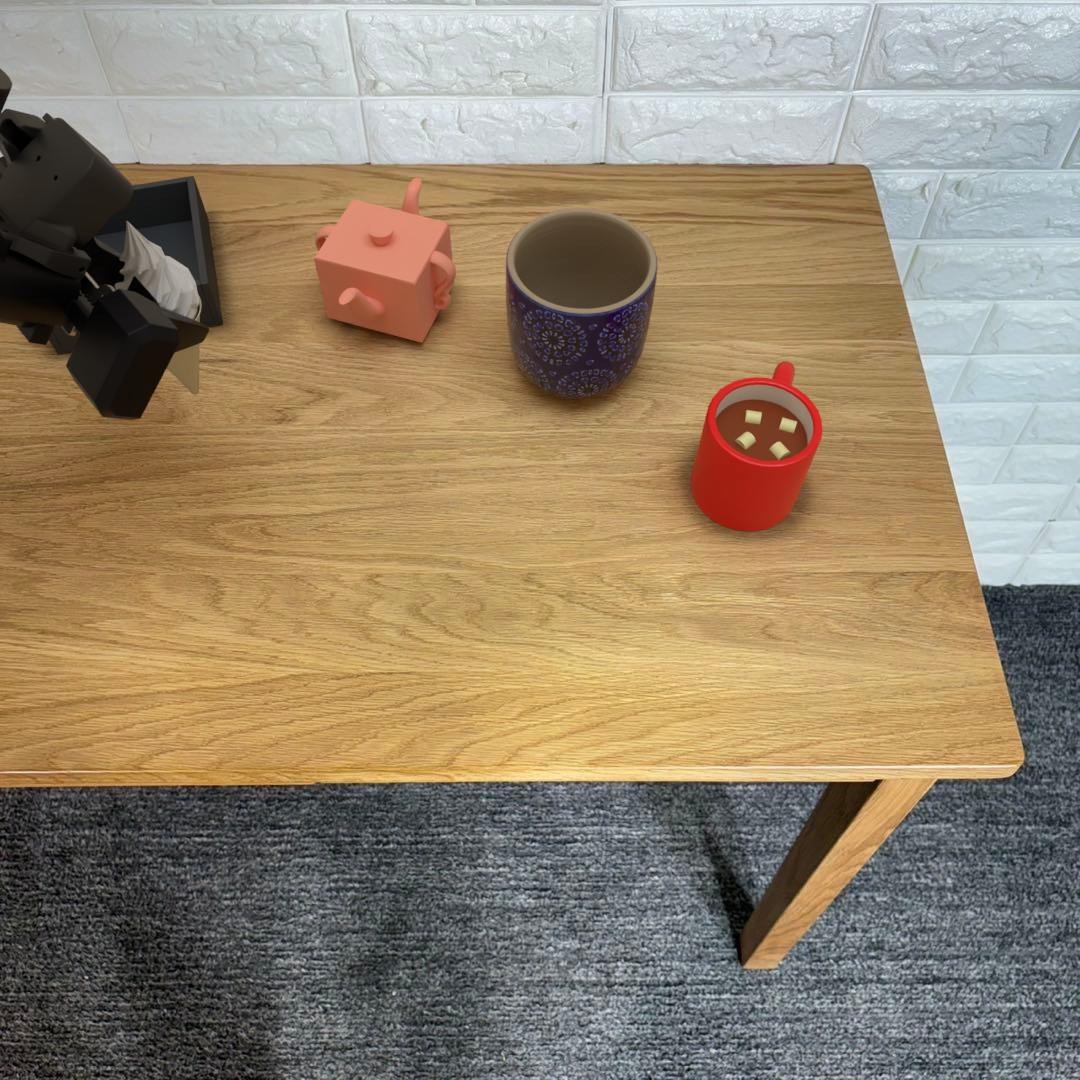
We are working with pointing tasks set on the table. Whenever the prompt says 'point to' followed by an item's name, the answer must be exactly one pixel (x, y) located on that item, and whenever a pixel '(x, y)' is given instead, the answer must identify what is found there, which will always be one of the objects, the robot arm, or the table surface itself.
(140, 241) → the ice cream cone
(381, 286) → the teapot
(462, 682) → the table surface
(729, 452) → the mug
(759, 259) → the table surface
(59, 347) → the storage bin
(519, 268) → the planter
